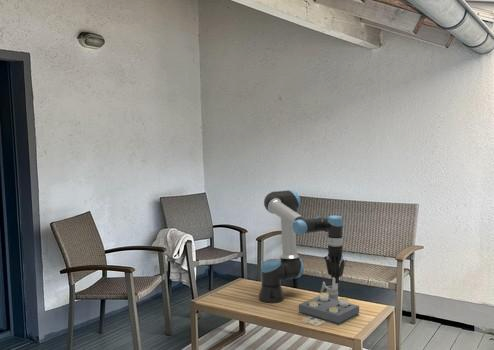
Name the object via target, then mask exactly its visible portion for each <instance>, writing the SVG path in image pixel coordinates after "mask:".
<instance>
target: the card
mask: <svg viewBox="0 0 494 350" xmlns="http://www.w3.org/2000/svg"><path fill="white" fill-rule="evenodd" d="M301 321H302V323H306V324H309V325H312V326H316V327H320V326H322V325H324V324H326V323H327V322H326V321H323V320H320V319H316V318H313V317H310V316H308V317H307V318H305V319H302V320H301Z"/></svg>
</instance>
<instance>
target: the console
mask: <svg viewBox="0 0 494 350" xmlns="http://www.w3.org/2000/svg"><path fill="white" fill-rule="evenodd" d="M310 302H317V303H318V306H317V307H312V306H309V303H310ZM330 307H336V308H338V312H336V313H333V312H329V308H330ZM298 314H301V315H304V316H307V317H312V318H316V319H319V320H322V321H326V323H330V324H332V325H337V326H340V325H341V324H342V325H343V324H344V323H346V322H348V321H350V320H353V318H355V317H357V316H358V317H359V316H360V305H357V304H353V303H350V302H348V307H347V308H343V307H339V299H338V300H335V299H331V298H328V302H326V303H325V302H321V301H320V295H318V296H316V297H313V298H311V299H308V300H306V301H304V302H301V303H299V304H298Z"/></svg>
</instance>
